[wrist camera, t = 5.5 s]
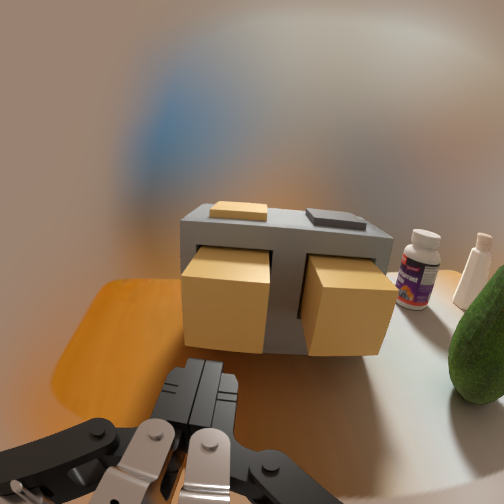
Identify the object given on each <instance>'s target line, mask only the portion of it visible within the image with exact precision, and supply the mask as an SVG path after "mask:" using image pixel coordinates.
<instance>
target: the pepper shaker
mask: <svg viewBox="0 0 504 504" xmlns="http://www.w3.org/2000/svg"><path fill="white" fill-rule="evenodd" d="M492 242H493V238H492V236H490V235H487V234H484V233H478V235H477V243H476V248H472V250H471V252H470V255H469V258H468V261H467V263H466V266H465V269H464V271H463V274H462V276H461V279H460V281H459V284H458V286H457V289H456V291H455V293H454V295H453V303H454V304H455V305H457V306H458V307H459V308H460V309H463V310H467V309H468V307H469V306H470V304H471V303H472V302H473V301H474V299H475V298H476V297H477V296H478V294H479V293H480V292H481V291H482V289H483V288H484V287H485V285H486V283H487V279H488V274H489V269H490V264H491V258H492V256H491V254H490V253H489V251H490V248H491V245H492Z"/></svg>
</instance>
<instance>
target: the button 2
mask: <svg viewBox="0 0 504 504" xmlns="http://www.w3.org/2000/svg"><path fill="white" fill-rule="evenodd" d="M398 294H399V289H398V288H397V287H396V286H395V285H394V284H393V283H392V282H391V281H390V280H389V279H388V278H387V277H386V276H385V275H384V273H383V272H382V271H381V270H380V269H379V268H378V267H377V266H376V265H375V264H374V263H373V262H372V261H371V260H370V259H369V258H364V257H352V256H339V255H327V254H315V253H306V260H305V267H304V274H303V281H302V287H301V294H300V300H299V306H298V307H299V311H300V316H301V321H302V326H303V330H304V335H305V340H306V345H307V350H308V355H309V356H368V355H378V353H379V351H380V348H381V345H382V343H383V340H384V337H385V334H386V331H387V328H388V326H389V323H390V320H391V316H392V313H393V310H394V307H395V304H396V300H397V297H398Z"/></svg>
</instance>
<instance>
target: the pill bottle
mask: <svg viewBox="0 0 504 504" xmlns="http://www.w3.org/2000/svg"><path fill="white" fill-rule="evenodd" d="M440 239H441V237H440V236H439V235H437V234H435V233H433V232H430V231H426V230H421V229H414V230H413V234H412V239H411V240H412V242H413V243H412V244H411V245H408V246H407V247H406V248H405V250H404V253H403V258H402V262H401V266H400V270H399V274H398V278H397V281H396V285H395V286H396V287H397V288H398V289H399V294H398V297H397V300H396V302H397V303H398V304H399V305H401V306H403V307H405V308H407V309H411V310H422V309H424V308H426V306H427V304H428V302H429V299H430V296H431V293H432V289H433V286H434V283H435V279H436V276H437V273H438V269H439V265H440V261H441V257H440V255H439V253H438V252H437V251H436V250H437V248H439V244H440Z"/></svg>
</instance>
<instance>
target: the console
mask: <svg viewBox="0 0 504 504" xmlns="http://www.w3.org/2000/svg"><path fill="white" fill-rule="evenodd" d="M393 241H394V238H392V237H391V236H389V235H388V234H386V233H385V232H383V231H382V230H380V229H379V228H377V227H376V226H374V225H372V224H371V223H369V222H368V221H366V220H364V219H363V218H361V217H357V216H355V215H354V214H352V213H347V212H339V211H329V210H321V209H311V208H306V211H298V210H286V209H275V208H267V205H266V204H254V203H240V202H224V201H218V202H217V203H216V204H202V205H201V206H199V207H198V208H197V209H195V210H194V211H192V212H191V213H190V214H188V215H187V216H186V217H184V218H183V219H182V220H180V255H181V256H180V258H181V275H182V273H183V272H184V270H185V269H186V267H187V266H188V265H189V263H190V262H191V260H192V259H193V257H194V256H195V255H196V253H197V252H198V250H199V249H200V248H201V246H202V245H213V246H226V247H239V248H251V249H264V250H269V270H270V289H269V298H268V307H267V316H266V325H265V334H264V343H263V351H262V353H272V354H293V355H308V350H307V345H306V340H305V335H304V330H303V326H302V321H301V316H300V311H299V307H298V306H299V300H300V294H301V287H302V281H303V274H304V267H305V260H306V253H315V254H327V255H339V256H352V257H364V258H369V259H370V260H371V261H372V262H373V263H374V264H375V265H376V266H377V267H378V268H379V269H380V270H381V271H382V272H383V273H384V275H385V276H386V273H387V269H388V265H389V260H390V256H391V251H392V246H393Z"/></svg>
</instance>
